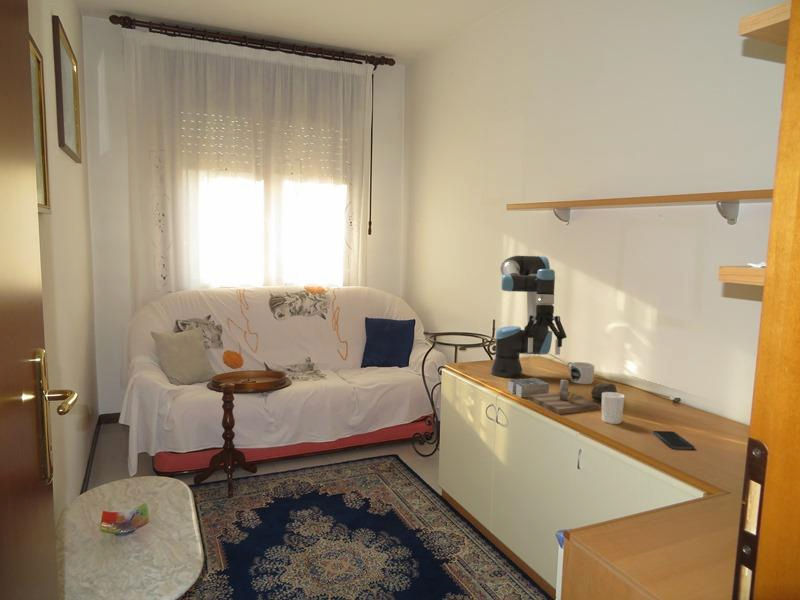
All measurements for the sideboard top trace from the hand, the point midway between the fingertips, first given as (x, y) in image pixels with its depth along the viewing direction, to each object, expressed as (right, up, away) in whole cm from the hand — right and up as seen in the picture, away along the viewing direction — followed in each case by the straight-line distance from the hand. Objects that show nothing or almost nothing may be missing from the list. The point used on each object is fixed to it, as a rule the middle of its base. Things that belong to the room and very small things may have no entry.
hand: (543, 353), depth 240 cm
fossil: (+22, -19, -11) cm, 31 cm away
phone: (+30, -25, -54) cm, 66 cm away
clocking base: (+4, -19, -16) cm, 25 cm away
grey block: (-7, -17, 0) cm, 18 cm away
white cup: (+16, -22, -35) cm, 44 cm away
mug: (+23, -15, +23) cm, 35 cm away
